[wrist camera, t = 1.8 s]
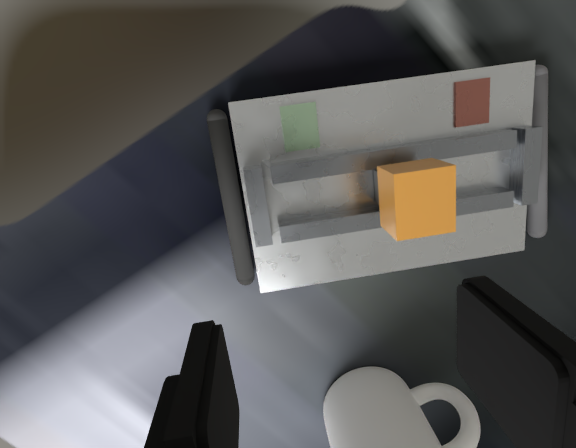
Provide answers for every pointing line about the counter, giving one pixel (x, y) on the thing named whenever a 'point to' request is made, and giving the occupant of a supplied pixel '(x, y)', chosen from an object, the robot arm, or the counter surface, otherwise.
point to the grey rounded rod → (540, 118)
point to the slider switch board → (381, 151)
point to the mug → (391, 412)
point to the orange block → (416, 198)
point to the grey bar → (230, 195)
